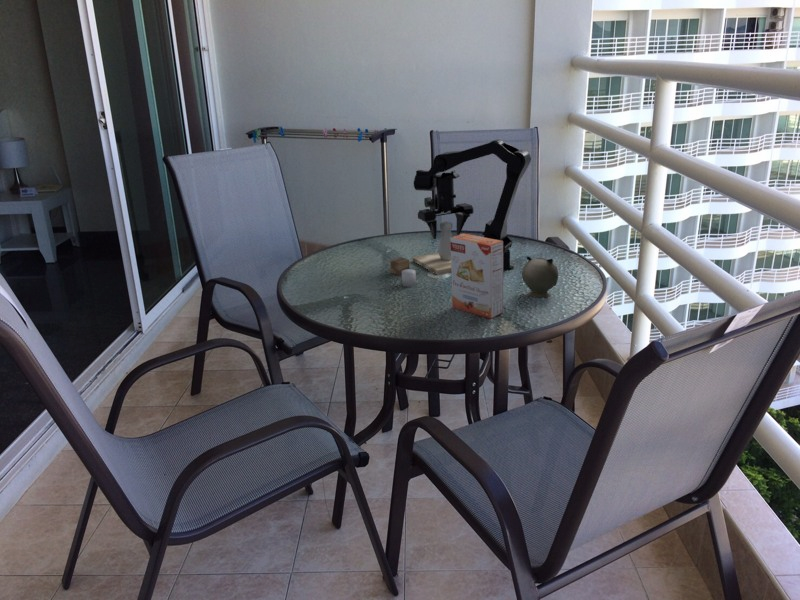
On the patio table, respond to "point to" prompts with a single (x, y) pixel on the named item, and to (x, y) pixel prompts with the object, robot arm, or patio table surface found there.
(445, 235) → the salt shaker
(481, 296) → the cracker box
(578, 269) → the patio table surface
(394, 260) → the walnut block
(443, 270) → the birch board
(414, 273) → the white rounded cube
